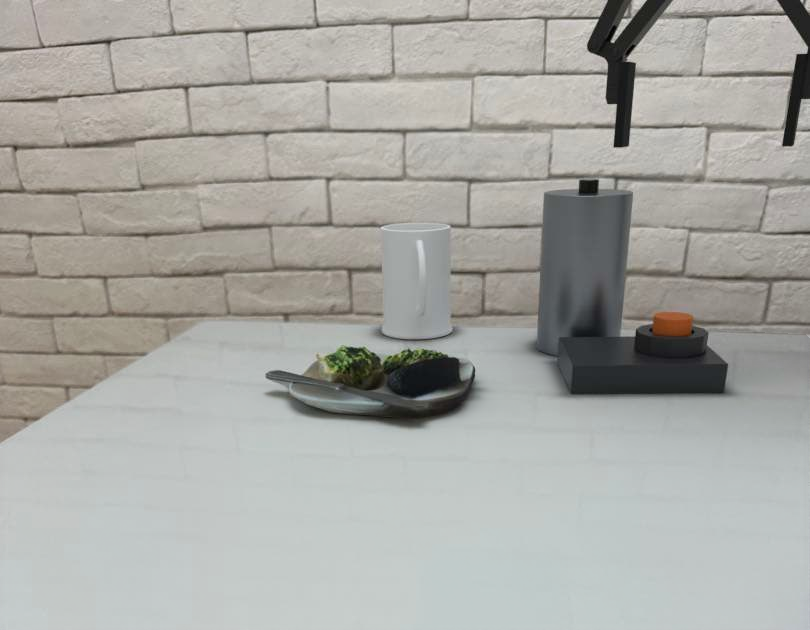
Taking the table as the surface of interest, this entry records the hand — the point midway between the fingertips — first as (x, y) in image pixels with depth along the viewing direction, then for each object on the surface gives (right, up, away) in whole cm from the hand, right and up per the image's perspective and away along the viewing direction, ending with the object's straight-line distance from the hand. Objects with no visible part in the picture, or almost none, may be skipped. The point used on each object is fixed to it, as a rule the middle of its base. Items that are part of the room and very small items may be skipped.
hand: (701, 147), depth 73 cm
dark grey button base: (-3, -17, +11) cm, 21 cm away
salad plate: (-27, -20, +8) cm, 34 cm away
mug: (-24, -9, +29) cm, 39 cm away
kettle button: (0, -14, +9) cm, 17 cm away
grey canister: (-6, -12, +22) cm, 26 cm away
